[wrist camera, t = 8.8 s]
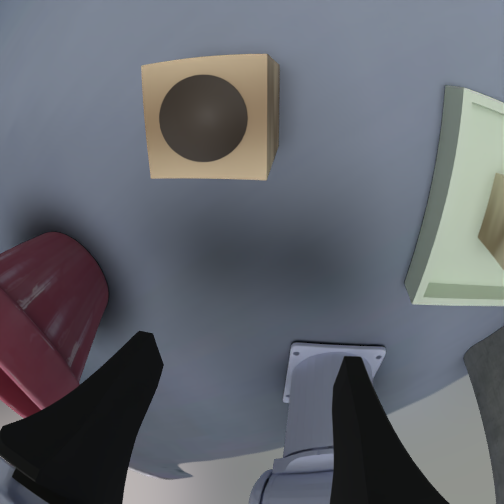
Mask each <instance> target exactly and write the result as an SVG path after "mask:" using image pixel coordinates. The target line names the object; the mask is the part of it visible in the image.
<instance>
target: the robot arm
mask: <svg viewBox="0 0 504 504" xmlns="http://www.w3.org/2000/svg"><path fill="white" fill-rule="evenodd" d="M385 354H386V349H385V347H377V346H347V345H327V344H312V343H293V344H292V345H291V350H290V357H289V364H288V370H287V377H286V383H285V389H284V395H283V401H284V402H285V403H289V408H288V418H287V427H286V436H285V445H284V454H283V458H280V459H274V464H273V469H271V470H267V471H266V472H264V473H263V474H262V475H261V476H260V478H259V479H258V480H257V482H256V483H255V485H254V486H253V489H252V491H251V494H250V498H249V504H449V503H448V502H447V501H446V500H445V499H444V498H443V497H442V496H441V495H440V494H439V493H438V491H437V490H436V489H435V488H434V487H433V486H432V484H431V483H430V482H429V481H428V480H427V478H426V477H425V476H424V475H423V473H422V472H421V471H420V469H419V468H418V467H417V466H416V464H415V463H414V461H413V460H412V458H411V457H410V455H409V454H408V452H407V451H406V449H405V448H404V446H403V445H402V443H401V441H400V440H399V438H398V436H397V434H396V433H395V431H394V429H393V427H392V425H391V423H390V421H389V420H388V418H387V416H386V414H385V412H384V409H383V407H382V405H381V403H380V401H379V399H378V397H377V394H376V392H375V390H374V385H373V378H374V376H375V374H376V372H377V370H378V368H379V366H380V364H381V362H382V360H383V358H384V356H385ZM163 366H164V364H163V361H162V359H161V356H160V353H159V350H158V347H157V344H156V341H155V338H154V335H153V333H148V332H143V331H139V332H137V333H136V334H135V335H134V336H133V337H132V338H131V339H130V340H129V341H128V342H127V343H126V344H125V345H124V346H123V347H122V348H121V349H120V350H119V351H118V352H117V353H116V354H114V355H113V356H112V357H111V358H110V359H109V360H108V361H107V362H106V363H105V364H104V365H103V366H102V367H101V368H99V369H98V370H97V371H96V372H95V373H94V374H92V375H91V376H90V377H89V378H88V379H87V380H85V381H84V382H83V383H82V384H80V385H79V386H78V387H77V388H75V389H74V390H73V391H71V392H70V393H68V394H67V395H66V396H64V397H63V398H61V399H59V400H58V401H56V402H55V403H53V404H51V405H50V406H48V407H46V408H44V409H43V410H41V411H39V412H37V413H35V414H33V415H31V416H28V417H26V418H24V419H21V420H19V421H16V422H13V423H11V424H8V425H5V426H3V427H2V429H1V430H0V456H1V457H0V504H122V500H123V493H124V486H125V481H126V475H127V470H128V466H129V462H130V458H131V454H132V450H133V446H134V443H135V439H136V436H137V434H138V431H139V428H140V426H141V424H142V421H143V419H144V417H145V414H146V412H147V410H148V407H149V405H150V403H151V401H152V398H153V396H154V394H155V391H156V389H157V386H158V383H159V380H160V376H161V373H162V369H163ZM3 458H4V459H5V460H4V459H3ZM8 462H9V463H8Z"/></svg>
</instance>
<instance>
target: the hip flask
mask: <svg viewBox="0 0 504 504" xmlns="http://www.w3.org/2000/svg"><path fill="white" fill-rule="evenodd" d="M464 362H465V365H466V368H467V371H468V374H469V377H470V380H471V383H472V386H473V389H474V392H475V396H476V399H477V403H478V406H479V410H480V414H481V418H482V421H483V426H484V430H485V434H486V439H487V443H488V448H489V453H490V459H491V465H492V470H493V478H494V485H495V494H496V504H504V326H503V327H502V328H500V329H499V330H498V331H496V332H495V333H493V334H492V335H490V336H489V337H487V338H485V339H484V340H482V341H481V342H479V343H477V344H475V345H474V346H472V347H471V348H470V349H469V350H468V351H467V352H466V353H465V355H464Z"/></svg>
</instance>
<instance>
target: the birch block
mask: <svg viewBox="0 0 504 504" xmlns="http://www.w3.org/2000/svg"><path fill="white" fill-rule="evenodd" d="M478 238H479V240H480V241H481V242H482V243H483V244H484V246H485V247H486V248H487V249H488V251H489V252H490V253H491V254H492V256H493V257H494V258H495V260H496V261H497V262H498V263H499V265H500V266H501V267H502V269H503V270H504V175H502V174H499V173H496V174H495V178H494V182H493V186H492V190H491V194H490V198H489V202H488V205H487V209H486V212H485V215H484V219H483V222H482V225H481V228H480V231H479V234H478Z"/></svg>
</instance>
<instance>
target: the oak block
mask: <svg viewBox="0 0 504 504" xmlns="http://www.w3.org/2000/svg"><path fill="white" fill-rule="evenodd" d="M141 69H142V89H143V104H144V117H145V128H146V139H147V148H148V157H149V166H150V174H151V179H152V178H212V179H247V180H267V178H268V175H269V172H270V169H271V166H272V163H273V161H274V158H275V155H276V152H277V149H278V146H279V64H278V63H277V62H275V61H274V60H273V59H272V58H271V57H270V56H269V55H268V54H239V55H220V56H208V57H197V58H188V59H180V60H173V61H166V62H160V63H154V64H148V65H143V66H141Z"/></svg>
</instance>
